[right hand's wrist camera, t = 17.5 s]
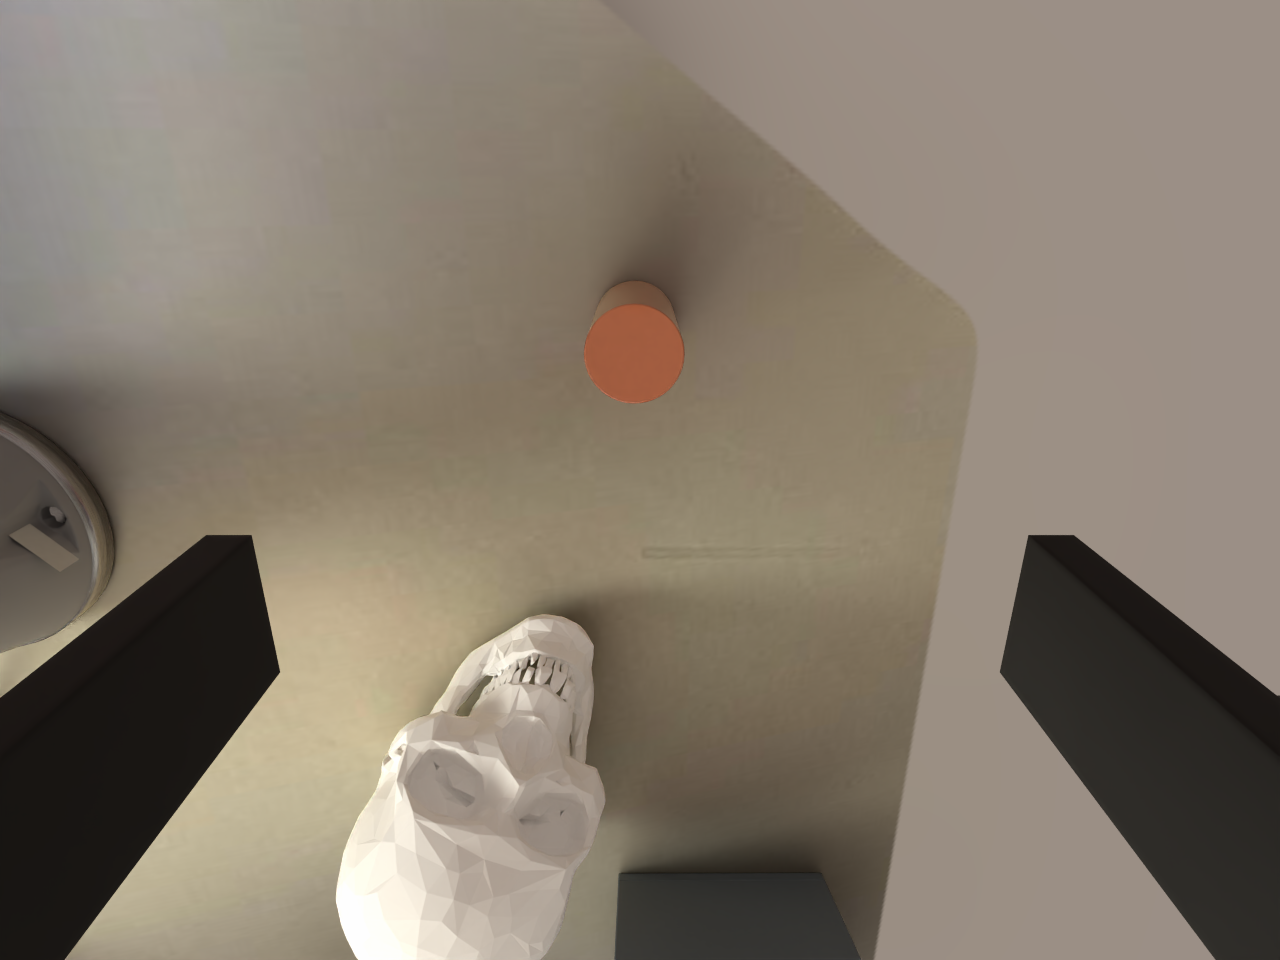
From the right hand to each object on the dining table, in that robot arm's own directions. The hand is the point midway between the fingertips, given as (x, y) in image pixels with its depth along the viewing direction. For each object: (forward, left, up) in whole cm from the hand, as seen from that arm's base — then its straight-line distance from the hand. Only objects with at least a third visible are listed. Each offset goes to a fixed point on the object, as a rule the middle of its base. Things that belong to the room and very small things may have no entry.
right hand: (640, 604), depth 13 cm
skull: (-28, -7, -30) cm, 42 cm away
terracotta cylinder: (0, 0, -30) cm, 30 cm away
